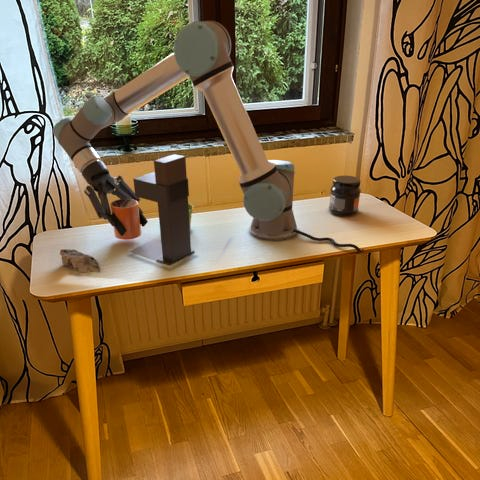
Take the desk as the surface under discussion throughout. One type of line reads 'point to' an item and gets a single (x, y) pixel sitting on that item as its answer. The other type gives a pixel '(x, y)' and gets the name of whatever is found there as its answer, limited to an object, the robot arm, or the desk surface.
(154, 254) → the coffee maker
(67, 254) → the mineral rock
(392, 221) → the desk surface
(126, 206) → the cup
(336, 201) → the supplement container
